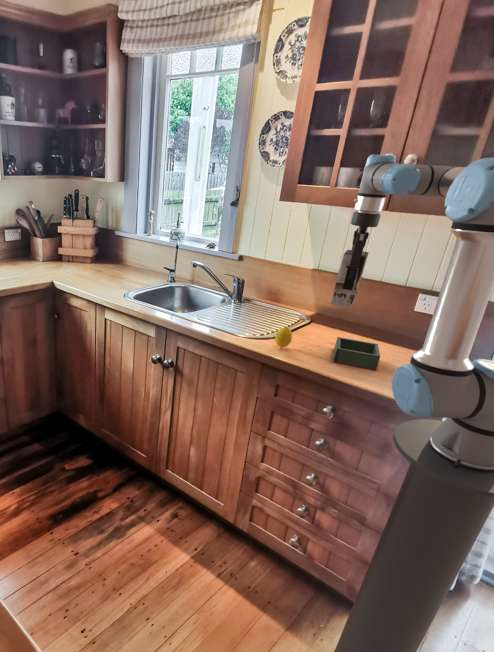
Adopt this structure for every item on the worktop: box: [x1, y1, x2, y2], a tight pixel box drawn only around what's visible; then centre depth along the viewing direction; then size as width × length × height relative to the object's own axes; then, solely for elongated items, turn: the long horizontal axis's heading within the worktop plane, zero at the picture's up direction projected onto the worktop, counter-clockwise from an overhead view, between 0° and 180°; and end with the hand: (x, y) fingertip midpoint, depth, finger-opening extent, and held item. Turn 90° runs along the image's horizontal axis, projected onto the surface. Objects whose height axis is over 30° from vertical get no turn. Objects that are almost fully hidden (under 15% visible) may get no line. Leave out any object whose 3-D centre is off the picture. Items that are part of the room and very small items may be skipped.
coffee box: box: [330, 249, 369, 309], centre depth 147 cm, size 9×6×16 cm
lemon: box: [274, 326, 293, 349], centre depth 164 cm, size 6×6×8 cm
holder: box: [333, 336, 381, 371], centre depth 159 cm, size 12×13×5 cm
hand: (347, 285), depth 148 cm, fingers closed on coffee box, 9 cm apart
